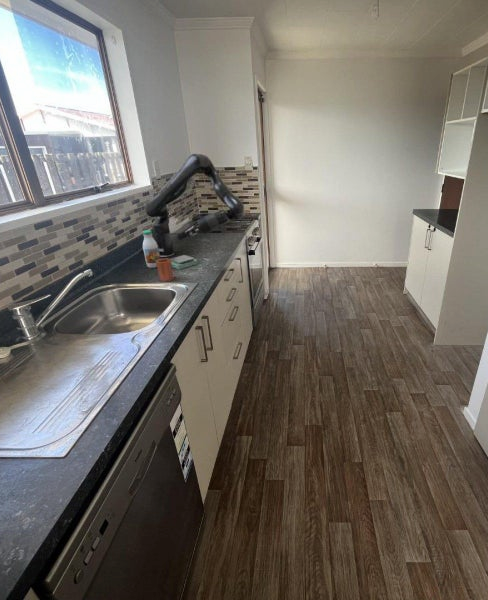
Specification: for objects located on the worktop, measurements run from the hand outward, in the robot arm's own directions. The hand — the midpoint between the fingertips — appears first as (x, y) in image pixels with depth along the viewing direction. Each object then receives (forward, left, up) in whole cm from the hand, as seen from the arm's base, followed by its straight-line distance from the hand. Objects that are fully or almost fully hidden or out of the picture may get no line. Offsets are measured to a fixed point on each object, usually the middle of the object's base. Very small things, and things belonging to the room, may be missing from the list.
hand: (179, 237), depth 164 cm
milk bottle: (-27, -3, -20) cm, 33 cm away
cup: (-2, -10, -20) cm, 22 cm away
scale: (-16, +8, -20) cm, 27 cm away
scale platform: (-16, +8, -17) cm, 25 cm away
